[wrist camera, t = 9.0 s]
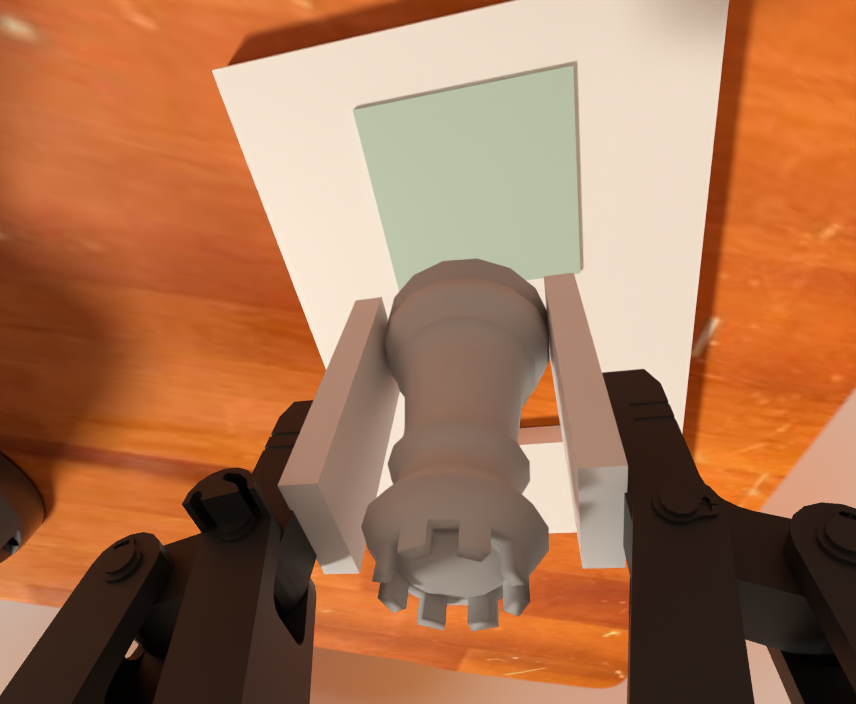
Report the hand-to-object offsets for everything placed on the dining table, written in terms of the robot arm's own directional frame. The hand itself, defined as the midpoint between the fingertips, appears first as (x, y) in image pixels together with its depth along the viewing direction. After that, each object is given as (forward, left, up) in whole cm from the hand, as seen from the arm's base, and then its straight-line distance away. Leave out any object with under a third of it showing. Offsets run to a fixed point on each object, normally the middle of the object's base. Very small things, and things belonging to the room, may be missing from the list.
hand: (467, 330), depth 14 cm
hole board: (0, -9, -13) cm, 16 cm away
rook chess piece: (0, 0, -1) cm, 1 cm away
